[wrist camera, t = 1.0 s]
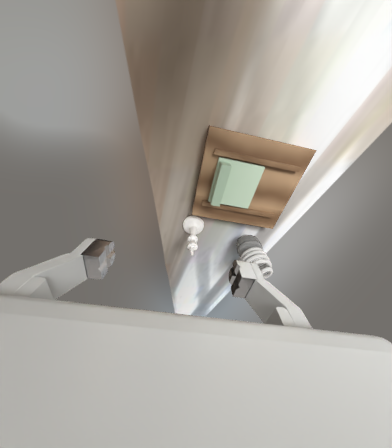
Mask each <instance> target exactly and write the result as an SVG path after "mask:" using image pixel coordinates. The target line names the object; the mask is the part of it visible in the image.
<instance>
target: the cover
mask: <svg viewBox="0 0 392 448" xmlns="http://www.w3.org/2000/svg"><path fill="white" fill-rule="evenodd" d="M264 169H265V167H264V166H260V165H255V164H251V163H246V162H241V161H237V160H232V159H227V158H223V157H219V159H218V163H217V166H216V170H215V174H214V178H213V182H212V186H211V190H210V194H209V198H208V202H210V203H211V205H213V206H219V207H220V204H225V205H230V206H236V207H241V208H247V209H248V207H249V205H250V203H251V200H252V198H253V195H254V193H255V191H256V188H257V186H258V184H259V181H260V179H261V176H262V174H263V172H264Z"/></svg>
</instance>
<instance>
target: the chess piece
mask: <svg viewBox="0 0 392 448" xmlns="http://www.w3.org/2000/svg"><path fill="white" fill-rule="evenodd" d="M203 227H204V222H203V220H202V219H201V218H199V217H197V216H189V217H187V218H186V219H185V220H184V222H183V228H184V230H185V231H186V232H187V233H189V234H190V236H189V237H188V242H189V244H188V246H187V248H188V250H190V251H191V256H193V255H194V251H195V250H197V248H198V246H197V244H196V243H197V241H198V238H197V236H196V234H198V233H200V232H201V231H202V230H203Z"/></svg>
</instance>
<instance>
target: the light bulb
mask: <svg viewBox="0 0 392 448" xmlns="http://www.w3.org/2000/svg"><path fill="white" fill-rule="evenodd" d="M236 246H237V252H238V254H239V256H240V257H241V258H240V261H246V262H251V261H252V262H255V263H257V265H258V266H260V265H262V264H263V265H262V266H260V267H259V269H260V271H261V273H262V275H263V274H265V273H267V272H268V273H267V274H265V275H263V277H264V279H266V278H268V277H270V276H271V275H272V273H273V270H272V264H271V262H270V259H269V257H268V256H267V254H266V253H265V252H264V251H263V250H262V245H261V243H260V242H259V240H258V239H257V238H256V237H255V236H252V235H243V236H242V237H241V238H239V239H238V241H237V243H236ZM259 258H263V259H259ZM255 259H258V260H255ZM253 260H255V261H253ZM264 263H265V264H264ZM267 266H268V267H267Z"/></svg>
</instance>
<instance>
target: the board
mask: <svg viewBox="0 0 392 448" xmlns="http://www.w3.org/2000/svg"><path fill="white" fill-rule="evenodd" d="M315 152H316V150H312V149H308V148H304V147H299V146H295V145H291V144H286V143H282V142H278V141H273V140H269V139H265V138H260V137H256V136H252V135H247V134H243V133H239V132H234V131H230V130H226V129H221V128H217V127H213V126H209V129H208V134H207V139H206V144H205V149H204V154H203V159H202V164H201V169H200V173H199V178H198V183H197V188H196V193H195V198H194V203H193V208H192V215H196V216H202V217H208V218H213V219H219V220H225V221H231V222H236V223H242V224H248V225H254V226H259V227H265V228H271V229H273V227H274V225H275V224H276V222H277V220H278V218H279V216H280V215H281V213H282V211H283V209H284V207H285V206H286V204H287V202H288V200H289V199H290V197H291V195H292V193H293V191H294V190H295V188H296V186H297V184H298V182H299V181H300V179H301V177H302V175H303V173H304V172H305V170H306V168H307V166H308V165H309V163H310V161H311V159H312V157H313V156H314V154H315ZM219 157H223V158H227V159H232V160H237V161H241V162H246V163H251V164H255V165H260V166H264V167H265V169H264V172H263V174H262V176H261V179H260V181H259V184H258V186H257V188H256V191H255V193H254V195H253V198H252V200H251V203H250V205H249V207H248V209H247V208H241V207H236V206H230V205H225V204H220V207H219V206H213V205H211V203H210V202H208V198H209V194H210V190H211V186H212V182H213V178H214V174H215V170H216V166H217V163H218V159H219Z"/></svg>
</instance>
